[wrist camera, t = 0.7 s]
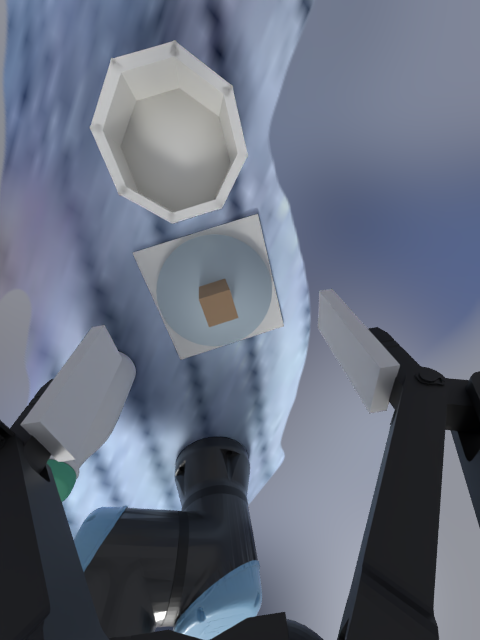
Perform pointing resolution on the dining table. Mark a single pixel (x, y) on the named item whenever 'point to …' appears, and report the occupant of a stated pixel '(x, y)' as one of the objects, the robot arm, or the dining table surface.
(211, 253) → the lid
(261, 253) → the mat
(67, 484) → the milk bottle
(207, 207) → the bowl
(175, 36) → the dining table surface
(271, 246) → the dining table surface
